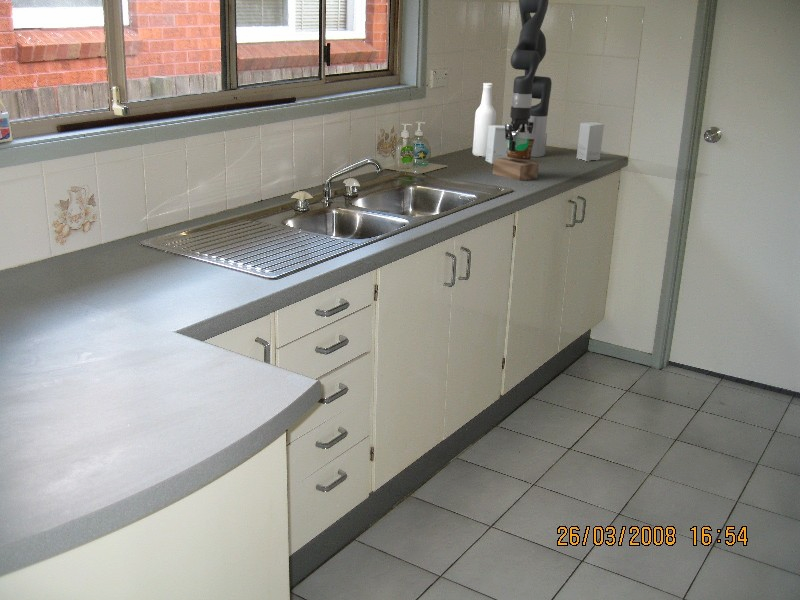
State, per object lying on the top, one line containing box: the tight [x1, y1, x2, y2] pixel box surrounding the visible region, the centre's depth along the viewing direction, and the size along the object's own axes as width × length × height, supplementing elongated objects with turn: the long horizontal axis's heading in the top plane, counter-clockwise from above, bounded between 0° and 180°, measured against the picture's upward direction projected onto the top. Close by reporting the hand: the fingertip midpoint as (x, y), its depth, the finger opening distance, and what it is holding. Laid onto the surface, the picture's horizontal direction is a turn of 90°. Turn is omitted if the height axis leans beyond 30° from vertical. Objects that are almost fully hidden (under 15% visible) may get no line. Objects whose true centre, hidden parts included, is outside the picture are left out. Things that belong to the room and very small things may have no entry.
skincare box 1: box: [485, 124, 508, 165], centre depth 358 cm, size 8×6×15 cm
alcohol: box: [471, 82, 497, 158], centre depth 369 cm, size 9×9×30 cm
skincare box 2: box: [576, 121, 605, 162], centre depth 372 cm, size 8×7×16 cm
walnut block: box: [492, 157, 540, 182], centre depth 336 cm, size 10×14×6 cm
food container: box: [507, 131, 536, 161], centre depth 332 cm, size 12×6×10 cm, turn 47°
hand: (517, 150), depth 333 cm, fingers open, 5 cm apart
